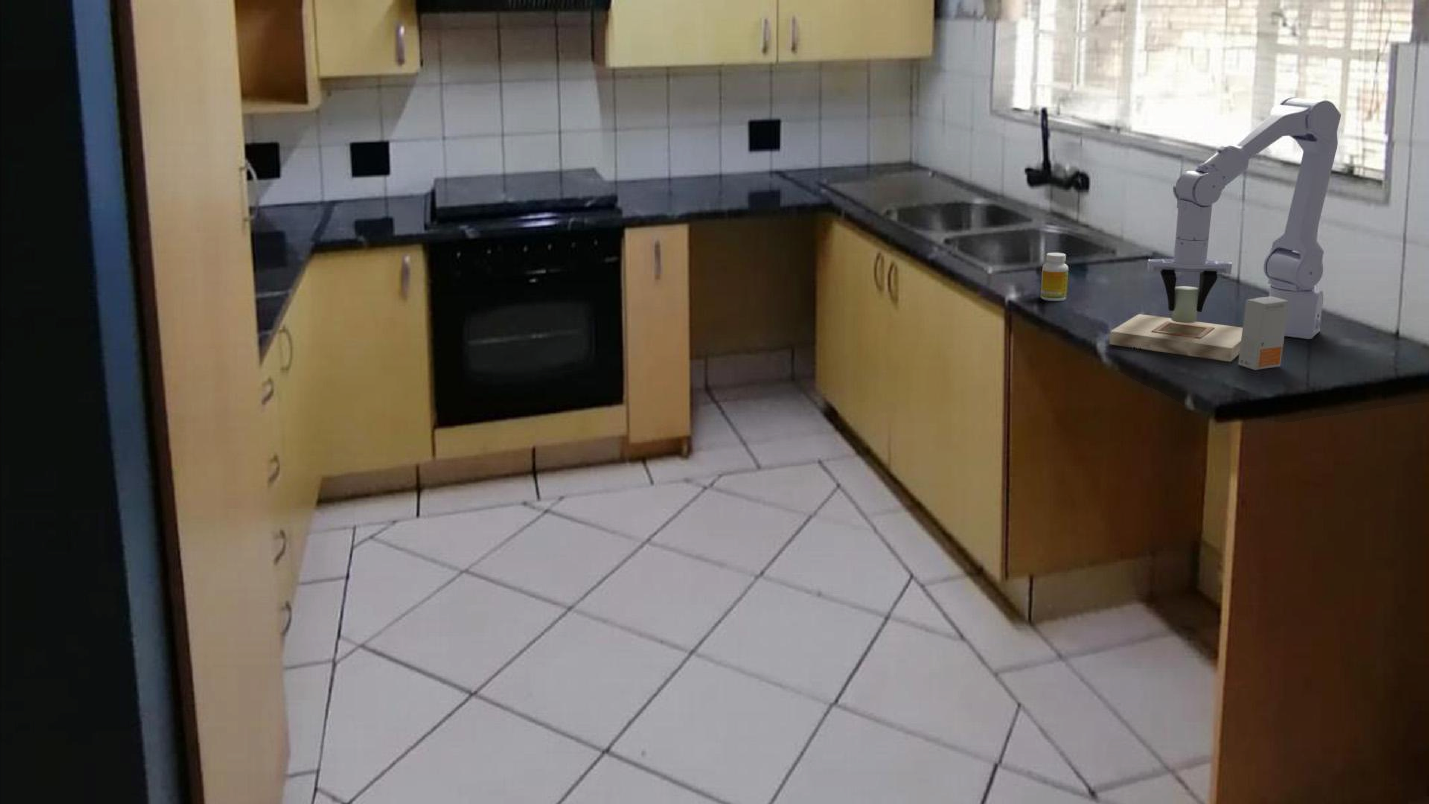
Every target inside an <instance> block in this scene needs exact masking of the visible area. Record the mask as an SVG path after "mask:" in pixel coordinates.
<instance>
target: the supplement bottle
mask: <svg viewBox="0 0 1429 804" xmlns="http://www.w3.org/2000/svg"><path fill="white" fill-rule="evenodd" d="M1066 258H1067V255H1066V254H1065V253H1063V252H1048V253H1046V258H1045V259H1046V262H1045V263H1044V264H1042V269H1041V271H1042V272H1041V285H1040V298H1041V299H1042V300H1044V301H1048V302H1060V301H1062V302H1063V301H1066V298H1067V294H1068V293H1067V292H1068V279H1069V277H1068V276H1069V266H1068V265H1067V264H1066V263H1065V262H1066Z"/></svg>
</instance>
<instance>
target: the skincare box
mask: <svg viewBox="0 0 1429 804" xmlns="http://www.w3.org/2000/svg"><path fill="white" fill-rule="evenodd" d="M1288 306H1289V301H1287V300H1284V299H1280V298H1276V297H1273V296H1270V297H1269V296H1261V297H1255V298H1250V299H1249V298H1248V299H1246V300H1245V307H1244V316H1243V324H1242V328H1243V330H1242V338H1241V346H1240V353H1239V355H1238V363H1237V364H1238V365H1239V366H1241V367H1245V368H1247V369H1251V370H1254V371H1258V370H1265V369H1270V368H1280V367H1281V363H1282V357H1283V356H1282V355H1283V349H1284V342H1285V341H1284V340H1285V336H1284V335H1285V328H1286V321H1287V313H1288Z"/></svg>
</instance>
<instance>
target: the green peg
mask: <svg viewBox="0 0 1429 804" xmlns="http://www.w3.org/2000/svg"><path fill="white" fill-rule="evenodd" d="M1198 299H1199V287H1196V286H1186V285H1182V286H1181V285H1180V286H1175V292H1174V309H1173V311H1171V317H1170V318H1171V320H1172V321H1175V322H1180V323H1194V322H1197V319H1198V317H1197V316H1198V311H1197V308H1198Z"/></svg>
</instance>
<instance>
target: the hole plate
mask: <svg viewBox="0 0 1429 804" xmlns="http://www.w3.org/2000/svg"><path fill="white" fill-rule="evenodd" d="M1171 318H1172V317H1165V316H1157V315H1149V314H1141V313H1139V314H1137V315H1135V316H1133V317H1132V318H1130V319H1128V320H1127V321H1125V322H1124V323H1122V324H1120V325H1118V326H1117V327H1115V328H1114V329H1111V330H1110V333H1109V345H1112V346H1121V347H1127V348H1134V347H1135V348H1134V349H1140V348H1141V349H1140V350H1147V351H1153V352H1161V353H1162V352H1163V353H1166V354H1167V353H1169V354H1173V355H1175V354H1176V355H1182V356H1189V357H1196V358H1202V359H1210V360H1215V361H1223V362H1232V361H1233V360H1235V359H1236V357H1239V353H1240V346H1241V338H1242V330H1243V326H1242V327H1239V326H1234V325H1232V326H1231V325H1227V324H1217V323H1211V322H1210V323H1209V322H1204V321H1196V322H1194V323H1180V322H1175V321H1172V320H1171Z"/></svg>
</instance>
